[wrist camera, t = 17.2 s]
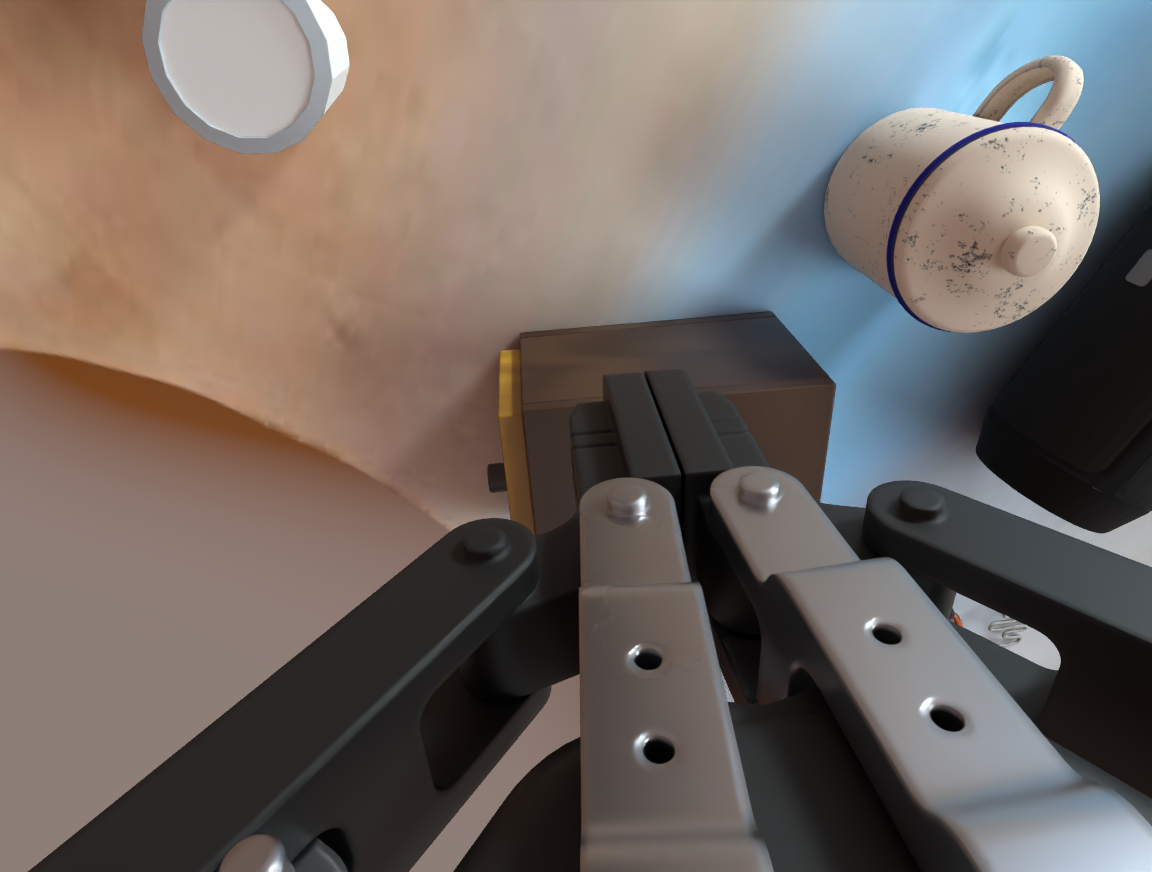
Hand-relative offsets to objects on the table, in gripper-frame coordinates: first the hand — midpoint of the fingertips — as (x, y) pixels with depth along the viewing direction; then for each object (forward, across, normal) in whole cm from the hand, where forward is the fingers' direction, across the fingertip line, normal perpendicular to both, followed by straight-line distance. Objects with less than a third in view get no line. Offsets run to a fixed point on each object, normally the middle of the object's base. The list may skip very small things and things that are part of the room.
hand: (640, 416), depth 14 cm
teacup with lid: (+27, -19, +2) cm, 33 cm away
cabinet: (+27, -4, +16) cm, 31 cm away
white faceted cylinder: (+27, +12, -6) cm, 30 cm away
